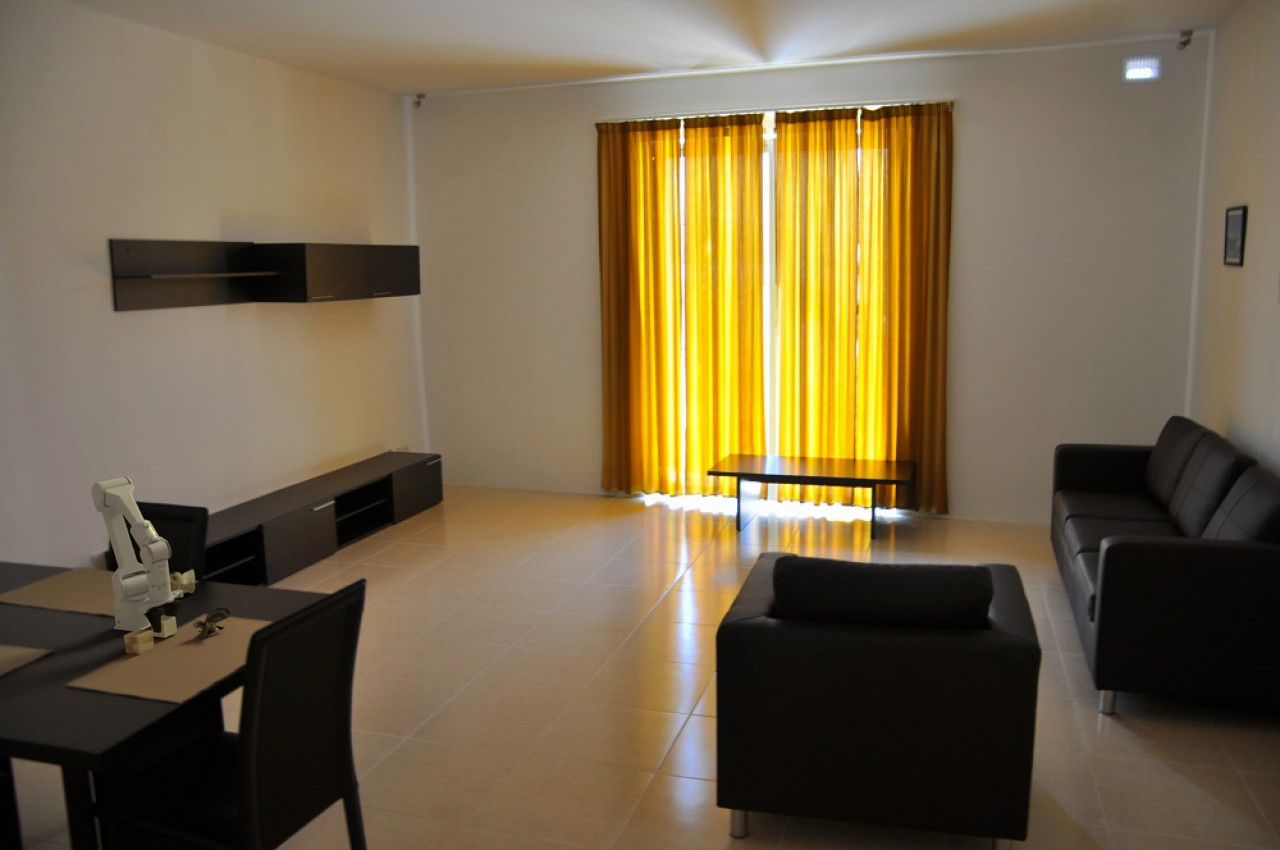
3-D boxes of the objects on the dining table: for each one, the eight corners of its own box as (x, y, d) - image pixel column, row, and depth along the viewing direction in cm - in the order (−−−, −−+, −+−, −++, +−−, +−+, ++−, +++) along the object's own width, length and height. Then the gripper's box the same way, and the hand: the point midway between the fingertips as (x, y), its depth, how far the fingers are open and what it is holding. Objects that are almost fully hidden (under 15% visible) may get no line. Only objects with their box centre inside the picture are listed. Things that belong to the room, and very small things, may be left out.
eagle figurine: (223, 635, 293) (238, 617, 302) (204, 615, 291) (220, 597, 300) (203, 648, 296) (218, 630, 304) (184, 629, 294) (200, 611, 303)
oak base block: (126, 652, 286) (123, 635, 285) (140, 646, 291) (138, 629, 290) (140, 654, 285) (138, 637, 284) (154, 647, 289) (152, 630, 288)
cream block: (152, 635, 296) (150, 620, 295) (164, 630, 300) (163, 615, 299) (165, 637, 294) (163, 622, 294) (177, 631, 298) (175, 616, 298)
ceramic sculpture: (202, 566, 332) (158, 583, 320) (206, 592, 334) (163, 609, 322) (182, 562, 338) (139, 578, 326) (187, 587, 340) (144, 604, 328)
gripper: (149, 593, 286) (155, 639, 289) (189, 576, 300) (194, 621, 302) (130, 590, 289) (135, 637, 291) (170, 574, 302) (175, 618, 305)
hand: (164, 628), depth 297 cm, fingers closed on cream block, 4 cm apart
